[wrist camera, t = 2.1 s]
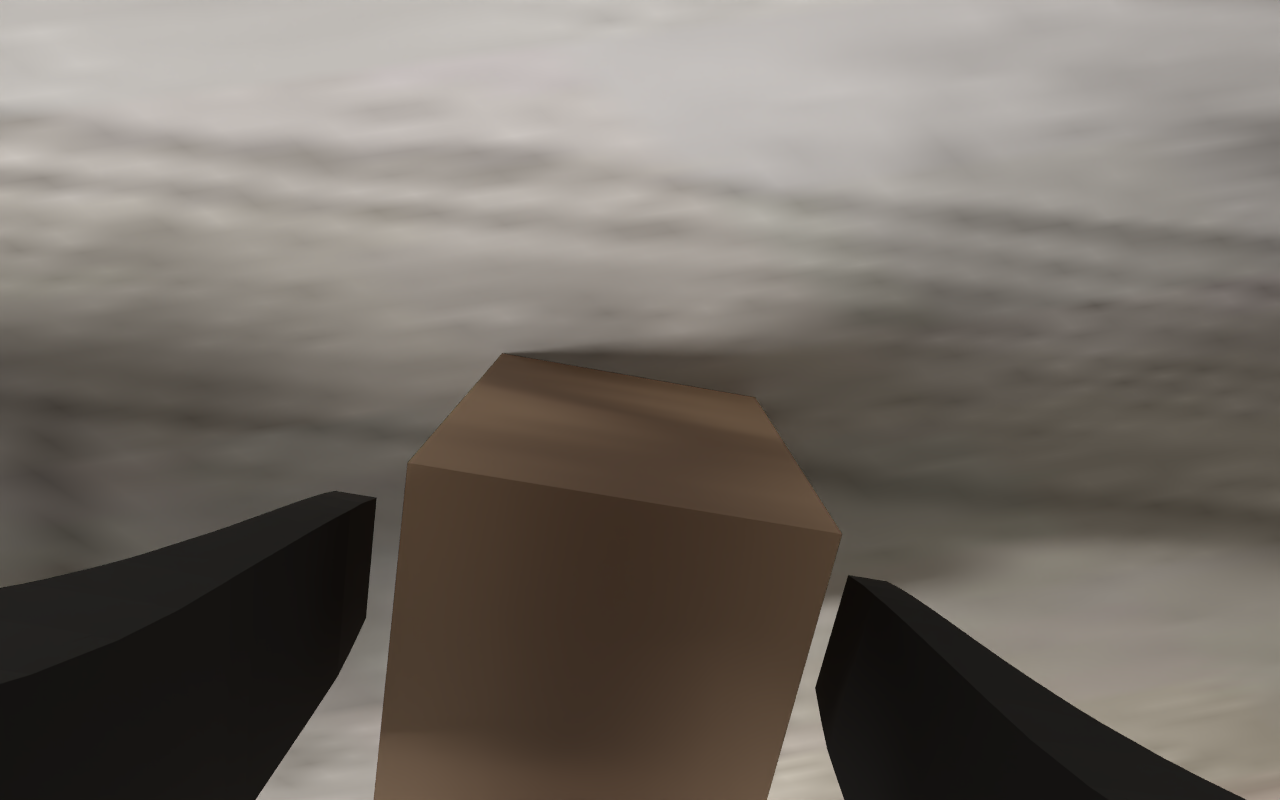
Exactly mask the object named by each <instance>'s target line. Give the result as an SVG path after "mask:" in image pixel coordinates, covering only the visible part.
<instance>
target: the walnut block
mask: <svg viewBox="0 0 1280 800" xmlns="http://www.w3.org/2000/svg"><path fill="white" fill-rule="evenodd" d="M841 536H842V533H841V532H840V530H839V528H838V527H837V525H836V524H835V522H834V521H833V519H832V517H831V516H830V514H829V513H828V511H827V510H826V508H825V506H824V505H823V503H822V502H821V500H820V499H819V497H818V495H817V494H816V492H815V491H814V489H813V488H812V486H811V484H810V483H809V481H808V480H807V478H806V477H805V475H804V474H803V472H802V470H801V469H800V467H799V466H798V464H797V463H796V461H795V459H794V458H793V456H792V455H791V453H790V452H789V450H788V448H787V447H786V445H785V444H784V442H783V441H782V439H781V437H780V436H779V434H778V433H777V431H776V430H775V428H774V426H773V425H772V423H771V422H770V420H769V419H768V417H767V415H766V414H765V412H764V411H763V409H762V408H761V406H760V404H759V403H758V401H757V400H756V398H755V397H749V396H744V395H738V394H732V393H726V392H721V391H715V390H709V389H703V388H698V387H692V386H686V385H681V384H675V383H669V382H663V381H658V380H652V379H646V378H641V377H635V376H629V375H623V374H618V373H612V372H606V371H601V370H595V369H589V368H583V367H578V366H572V365H566V364H561V363H555V362H549V361H543V360H538V359H532V358H526V357H521V356H515V355H509V354H503V353H502V354H501V355H500V357H499V358H498V359H497V360H496V361H495V362H494V364H493V365H492V366H491V367H490V368H489V369H488V370H487V372H486V373H485V374H484V375H483V376H482V377H481V379H480V380H479V381H478V382H477V383H476V384H475V385H474V387H473V388H472V389H471V390H470V391H469V392H468V394H467V395H466V396H465V397H464V398H463V399H462V401H461V402H460V403H459V404H458V405H457V406H456V407H455V409H454V410H453V411H452V412H451V413H450V414H449V416H448V417H447V418H446V419H445V420H444V421H443V422H442V424H441V425H440V426H439V427H438V428H437V429H436V431H435V432H434V433H433V434H432V435H431V436H430V437H429V439H428V440H427V441H426V442H425V443H424V444H423V446H422V447H421V448H420V449H419V450H418V451H417V453H416V454H415V455H414V456H413V457H412V458H411V459H410V461H409V462H408V463H407V473H406V483H405V493H404V503H403V513H402V523H401V533H400V543H399V553H398V563H397V573H396V583H395V593H394V603H393V613H392V623H391V633H390V643H389V653H388V663H387V673H386V683H385V693H384V703H383V713H382V722H381V732H380V742H379V752H378V762H377V772H376V782H375V792H374V800H767V797H768V794H769V790H770V787H771V783H772V780H773V776H774V773H775V769H776V766H777V762H778V758H779V755H780V751H781V748H782V744H783V741H784V737H785V734H786V730H787V727H788V723H789V720H790V716H791V713H792V709H793V706H794V702H795V699H796V695H797V691H798V688H799V684H800V681H801V677H802V674H803V670H804V667H805V663H806V660H807V656H808V653H809V649H810V646H811V642H812V639H813V635H814V632H815V628H816V624H817V621H818V617H819V614H820V610H821V607H822V603H823V600H824V596H825V593H826V589H827V586H828V582H829V579H830V575H831V572H832V568H833V564H834V561H835V557H836V554H837V550H838V547H839V543H840V540H841Z"/></svg>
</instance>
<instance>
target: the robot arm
mask: <svg viewBox="0 0 1280 800" xmlns="http://www.w3.org/2000/svg"><path fill="white" fill-rule="evenodd" d="M375 509H376V498H374V497H368V496H362V495H356V494H350V493H344V492H338V491H333V492H329V493H324V494H320V495H317V496H314V497H311V498H308V499H305V500H302V501H299V502H296V503H293V504H290V505H287V506H285V507H282V508H279V509H276V510H274V511H271V512H268V513H265V514H262V515H260V516H257V517H254V518H251V519H248V520H246V521H243V522H240V523H237V524H234V525H232V526H229V527H226V528H223V529H220V530H217V531H215V532H211V533H208V534H205V535H202V536H199V537H196V538H193V539H189V540H186V541H183V542H180V543H177V544H174V545H171V546H167V547H164V548H161V549H158V550H155V551H152V552H149V553H145V554H142V555H139V556H135V557H132V558H128V559H125V560H121V561H117V562H113V563H110V564H106V565H102V566H98V567H94V568H90V569H86V570H82V571H78V572H73V573H69V574H65V575H61V576H56V577H52V578H48V579H44V580H39V581H34V582H29V583H25V584H19V585H14V586H8V587H3V588H0V800H256V798H257V797H258V795H259V794H260V792H261V791H262V789H263V788H264V786H265V785H266V783H267V782H268V780H269V779H270V777H271V776H272V774H273V773H274V771H275V770H276V768H277V767H278V765H279V764H280V762H281V761H282V759H283V758H284V756H285V755H286V753H287V752H288V750H289V749H290V747H291V746H292V744H293V743H294V741H295V740H296V739H297V737H298V736H299V734H300V733H301V731H302V730H303V728H304V727H305V725H306V724H307V722H308V721H309V719H310V718H311V716H312V715H313V713H314V712H315V710H316V709H317V707H318V705H319V704H320V702H321V701H322V699H323V698H324V696H325V695H326V693H327V692H328V690H329V689H330V687H331V686H332V684H333V683H334V681H335V679H336V678H337V676H338V674H339V672H340V670H341V668H342V666H343V664H344V662H345V661H346V659H347V657H348V655H349V653H350V651H351V649H352V646H353V644H354V642H355V640H356V638H357V636H358V634H359V632H360V630H361V627H362V625H363V623H364V621H365V619H366V610H367V599H368V588H369V576H370V565H371V554H372V543H373V531H374V520H375ZM815 689H816V695H817V700H818V706H819V711H820V717H821V722H822V727H823V731H824V736H825V740H826V745H827V750H828V753H829V756H830V759H831V762H832V765H833V768H834V771H835V774H836V777H837V780H838V783H839V786H840V789H841V791H842V794H843V797H844V800H1246V799H1244V798H1242V797H1240V796H1238V795H1236V794H1233V793H1231V792H1229V791H1227V790H1225V789H1223V788H1221V787H1219V786H1217V785H1215V784H1213V783H1211V782H1209V781H1207V780H1205V779H1203V778H1201V777H1199V776H1197V775H1195V774H1193V773H1191V772H1189V771H1187V770H1185V769H1183V768H1181V767H1180V766H1178V765H1176V764H1174V763H1172V762H1170V761H1168V760H1166V759H1164V758H1162V757H1161V756H1159V755H1157V754H1155V753H1153V752H1152V751H1150V750H1148V749H1146V748H1145V747H1143V746H1141V745H1139V744H1137V743H1136V742H1134V741H1132V740H1130V739H1129V738H1127V737H1125V736H1123V735H1122V734H1120V733H1118V732H1116V731H1114V730H1113V729H1111V728H1109V727H1107V726H1106V725H1104V724H1102V723H1100V722H1099V721H1097V720H1096V719H1094V718H1092V717H1091V716H1089V715H1087V714H1086V713H1084V712H1082V711H1081V710H1079V709H1077V708H1076V707H1074V706H1073V705H1071V704H1069V703H1068V702H1066V701H1065V700H1063V699H1062V698H1060V697H1059V696H1057V695H1056V694H1054V693H1052V692H1051V691H1049V690H1048V689H1046V688H1045V687H1043V686H1042V685H1040V684H1039V683H1037V682H1035V681H1034V680H1032V679H1031V678H1029V677H1028V676H1026V675H1025V674H1023V673H1022V672H1020V671H1019V670H1018V669H1016V668H1015V667H1013V666H1012V665H1010V664H1009V663H1007V662H1006V661H1004V660H1003V659H1001V658H1000V657H999V656H997V655H996V654H994V653H993V652H991V651H990V650H989V649H987V648H986V647H984V646H983V645H981V644H980V643H979V642H977V641H976V640H974V639H973V638H972V637H970V636H969V635H967V634H966V633H965V632H963V631H962V630H960V629H959V628H957V627H956V626H955V625H953V624H952V623H950V622H949V621H948V620H946V619H945V618H943V617H942V616H941V615H939V614H938V613H936V612H935V611H933V610H932V609H931V608H929V607H928V606H926V605H925V604H923V603H922V602H920V601H919V600H917V599H916V598H914V597H913V596H911V595H910V594H908V593H907V592H905V591H903V590H902V589H900V588H898V587H896V586H894V585H893V584H891V583H889V582H886V581H880V580H874V579H868V578H862V577H856V576H850V575H848V578H847V581H846V585H845V588H844V592H843V595H842V598H841V602H840V605H839V609H838V612H837V615H836V619H835V622H834V626H833V629H832V633H831V636H830V639H829V643H828V646H827V650H826V653H825V656H824V660H823V663H822V667H821V670H820V674H819V677H818V680H817V684H816V687H815Z"/></svg>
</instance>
